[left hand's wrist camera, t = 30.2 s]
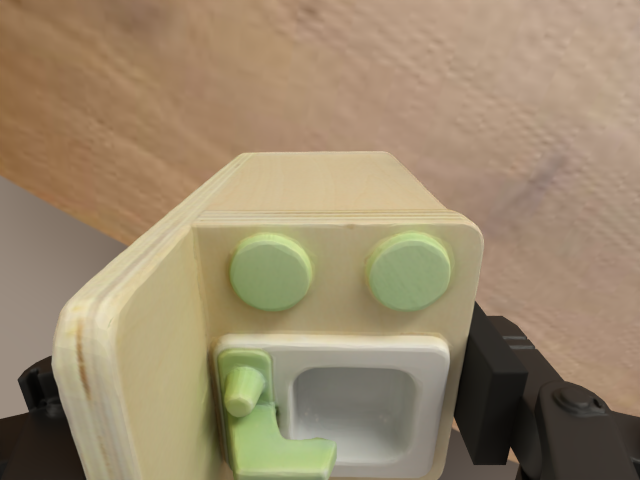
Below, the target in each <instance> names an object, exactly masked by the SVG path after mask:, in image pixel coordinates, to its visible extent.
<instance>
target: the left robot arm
mask: <svg viewBox="0 0 640 480" xmlns="http://www.w3.org/2000/svg"><path fill="white" fill-rule="evenodd" d="M51 364H52V356H49V357H47V358H45V359H43V360H41V361H39V362H36V363H35V364H34V365H32V366H31V367H29V368H28V369H27V370H25V371H24V372H23V374H22V375H21V376H20V377H19V378H18V382H19V385H20V388H21V390H22V393H23V396H24V399H25V402H26V404H27V407H28V410H29V412H28V413H24V414H20V415H16V416H11V417H7V418H3V419H0V480H87V479H86V476H85V473H84V469H83V466H82V463H81V460H80V457H79V454H78V451H77V448H76V445H75V442H74V439H73V436H72V433H71V430H70V426H69V423H68V419H67V417H66V414H65V412H64V409H63V406H62V403H61V400H60V396H59V390H58V386H57V383H56V381H55V378H54V374H53V369H52V365H51ZM454 418H455V421H456V423H457V425H458V428H459V430H460V433H461V435H462V437H463V440H464V442H465V445H466V447H467V450H468V452H469V454H470V457H471V459H472V462H473V464H474V465H506V462H507V458H508V454H509V450H510V446H511V448H512V450H513V452H514V454H515V456H516V457H517V459H518V461H519V463H520V464H519V468H518V471H517V475H516V479H515V480H640V417H636V416H631V415H627V414H623V413H618V412H614V411H611V410H610V409H609V407H608V406H607V404H606V403H605V402H604V401H603V400H602V399H601V398H599V397H598V396H597V395H596V394H595V393H593V392H591V391H589V390H588V389H586V388H584V387H582V386H579V385H576V384H573V383H570V382H566V381H564V380H563V379H562V378H561V377H560V375H559V374H558V373H557V372H556V371H555V370H554V368H553V367H552V366H551V365H550V364H549V363H548V361H547V360H546V359H545V358H544V357H543V355H542V354H541V353H540V352H539V351H538V350H537V349H535V346H534V345H533V344H532V343H531V341H530V340H529V339H527V337H526V335H525V334H524V333H523V332H522V331H521V330H520V328H519V327H518V326H517V325H515V324H514V323H512V322H511V321H509V320H508V319H506V318H504V317H503V316H486V314H485V313H484V312H483V310H482V309H481V308H480V306H479V305H478V304H477V302H476V301H475V303H474V309H473V314H472V319H471V324H470V329H469V335H468V340H467V345H466V350H465V355H464V361H463V367H462V372H461V376H460V380H459V387H458V393H457V399H456V405H455V410H454Z"/></svg>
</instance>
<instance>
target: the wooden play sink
mask: <svg viewBox="0 0 640 480" xmlns="http://www.w3.org/2000/svg"><path fill="white" fill-rule="evenodd" d="M483 251H484V238H483V236H482V233H481V231H480V229H479V228H478V227H477V226H476V225H475V224H474V223H473V222H472V221H471V220H469V219H468V218H466V217H465V216H464V215H462V214H460V213H458V212H456V211H452V210H449V209H446V208H445V207H444V206H443V205H442V204H441V203H440V202H439V201H438V200H437V199H436V198H435V197H434V196H433V195H432V194H431V193H430V192H428V191H427V189H426V188H425V187H424V186H423V185H422V184H421V183H420V182H419V181H418V180H417V179H416V178H415V177H414V176H413V175H412V174H411V173H410V172H409V171H408V170H407V169H406V168H405V167H404V166H403V165H402V164H401V163H400V162H399V161H398V160H397V159H396V158H395V157H394V156H393V155H392V154H390V153H389V152H382V151H358V152H258V153H243V154H241V155H239V156H237V157H236V158H235V159H233V160H232V161H231V162H230V163H228V164H227V165H226V166H225V167H223V168H222V169H221V170H220V171H218V172H217V173H216V174H215V175H214V176H212V177H211V178H210V179H209V180H208V181H206V182H205V183H204V184H203V185H202V186H200V187H199V188H198V189H196V190H195V191H194V192H193V193H192V194H191V195H189V196H188V197H187V198H186V199H184V200H183V201H182V202H181V203H180V204H179V205H177V206H176V207H175V208H174V209H173V210H171V211H170V212H169V213H168V214H167V215H166V216H165V217H163V218H162V219H161V220H160V221H158V222H157V223H156V224H155V225H154V226H152V227H151V228H150V229H149V230H148V231H147V232H145V233H144V234H143V235H142V236H141V237H139V238H138V239H137V240H136V241H135V242H134V243H133V244H132V245H130V246H129V247H128V248H127V249H126V250H124V251H123V252H122V253H120V254H119V255H118V256H117V257H116V258H115V259H113V260H112V261H111V262H110V263H109V264H108V265H107V266H106V267H105V268H103V269H102V270H101V271H100V272H99V273H97V274H96V275H95V276H94V277H93V278H92V279H90V280H89V281H88V282H87V283H86V284H85V285H84V286H83V287H82V288H81V289H80V290H79V291H78V292H77V293H76V294H75V295H74V296H73V297H72V298H71V299H70V300H69V301H68V302H67V303H66V304H65V306H64V307H63V309H62V310H61V312H60V315H59V318H58V322H57V326H56V330H55V333H54V337H53V350H52V364H51V365H52V369H53V374H54V378H55V381H56V383H57V386H58V390H59V396H60V400H61V403H62V406H63V409H64V412H65V414H66V417H67V419H68V423H69V426H70V430H71V433H72V436H73V439H74V442H75V445H76V448H77V451H78V454H79V457H80V460H81V463H82V466H83V469H84V473H85V476H86V479H87V480H437V479H438V478H439V477H440V476H441V474H442V472H443V469H444V465H445V460H446V455H447V449H448V443H449V438H450V432H451V427H452V422H453V416H454V410H455V405H456V399H457V393H458V387H459V380H460V376H461V372H462V367H463V361H464V355H465V350H466V345H467V340H468V335H469V329H470V324H471V319H472V314H473V309H474V303H475V297H476V292H477V287H478V282H479V276H480V270H481V263H482V256H483Z"/></svg>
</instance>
